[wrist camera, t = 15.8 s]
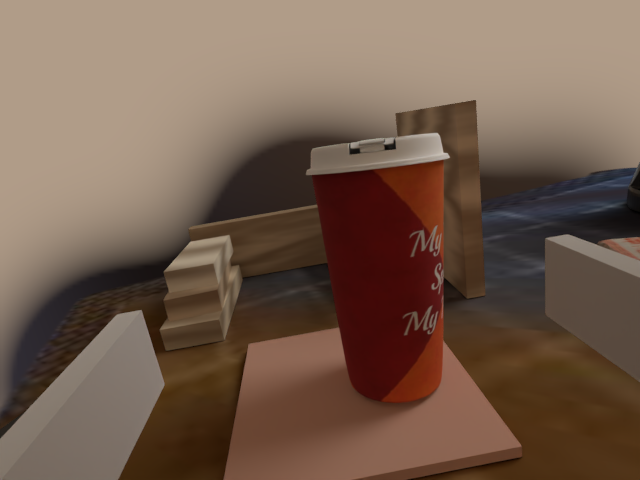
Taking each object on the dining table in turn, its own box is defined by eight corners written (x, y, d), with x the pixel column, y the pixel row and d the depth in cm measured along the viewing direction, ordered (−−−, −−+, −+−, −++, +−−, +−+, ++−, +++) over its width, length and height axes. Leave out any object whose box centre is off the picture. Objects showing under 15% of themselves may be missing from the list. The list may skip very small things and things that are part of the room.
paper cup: (473, 416, 20) (460, 127, 17) (323, 416, 21) (287, 149, 18) (450, 342, 27) (438, 134, 24) (339, 346, 29) (316, 149, 26)
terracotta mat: (522, 456, 18) (521, 446, 18) (221, 516, 18) (218, 505, 18) (422, 318, 32) (422, 312, 32) (250, 350, 31) (248, 343, 31)
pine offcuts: (224, 340, 34) (207, 275, 32) (161, 351, 33) (140, 286, 32) (242, 280, 47) (231, 232, 45) (197, 288, 47) (184, 240, 45)
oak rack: (485, 295, 34) (475, 100, 30) (164, 354, 33) (105, 161, 29) (420, 241, 50) (408, 111, 46) (205, 280, 49) (171, 150, 45)
